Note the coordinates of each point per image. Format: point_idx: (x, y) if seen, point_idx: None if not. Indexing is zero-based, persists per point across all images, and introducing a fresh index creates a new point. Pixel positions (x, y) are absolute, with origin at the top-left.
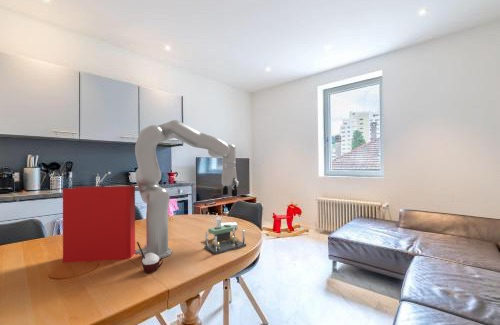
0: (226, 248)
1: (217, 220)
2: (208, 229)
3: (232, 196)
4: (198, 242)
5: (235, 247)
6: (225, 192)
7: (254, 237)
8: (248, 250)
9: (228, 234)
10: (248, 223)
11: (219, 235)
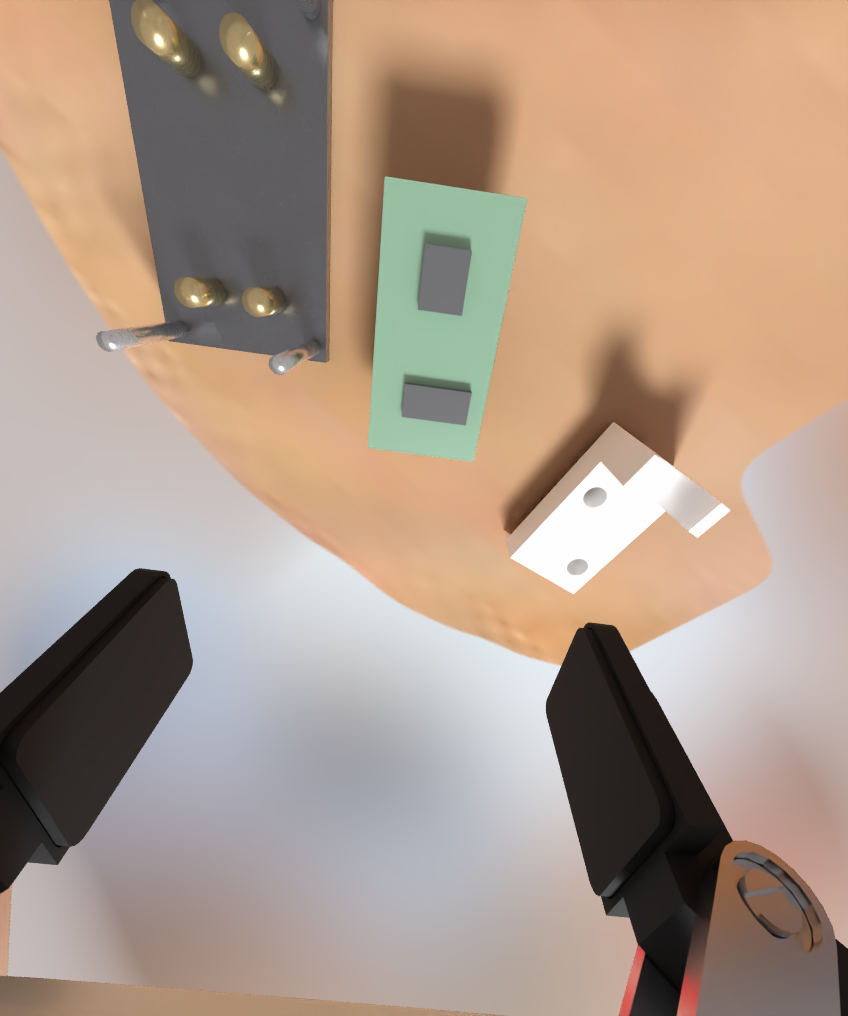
0: (149, 132)
1: (646, 454)
2: (524, 200)
3: (140, 569)
4: (511, 60)
5: (151, 228)
6: (581, 710)
7: (296, 499)
8: (89, 286)
9: None
10: (547, 658)
11: None
